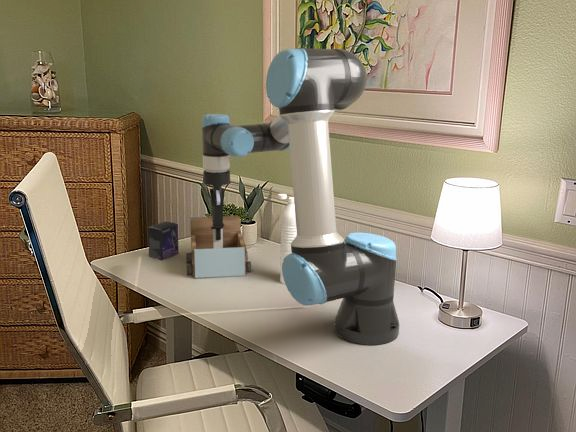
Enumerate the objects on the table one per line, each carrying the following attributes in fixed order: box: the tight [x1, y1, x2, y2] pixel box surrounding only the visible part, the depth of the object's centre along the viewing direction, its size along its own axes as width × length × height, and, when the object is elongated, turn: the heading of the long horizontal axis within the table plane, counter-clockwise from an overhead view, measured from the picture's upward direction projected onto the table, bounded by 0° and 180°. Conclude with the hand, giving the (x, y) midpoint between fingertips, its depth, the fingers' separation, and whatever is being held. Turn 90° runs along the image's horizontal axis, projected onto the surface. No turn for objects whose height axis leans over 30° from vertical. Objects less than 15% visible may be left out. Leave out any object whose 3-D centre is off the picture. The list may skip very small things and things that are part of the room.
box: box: [147, 221, 180, 261], centre depth 192 cm, size 8×6×11 cm
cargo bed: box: [185, 215, 252, 278], centre depth 184 cm, size 19×18×13 cm
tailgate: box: [193, 247, 247, 280], centre depth 175 cm, size 1×14×9 cm, turn 100°
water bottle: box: [277, 193, 297, 285], centre depth 171 cm, size 9×6×25 cm
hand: (218, 249), depth 181 cm, fingers closed
